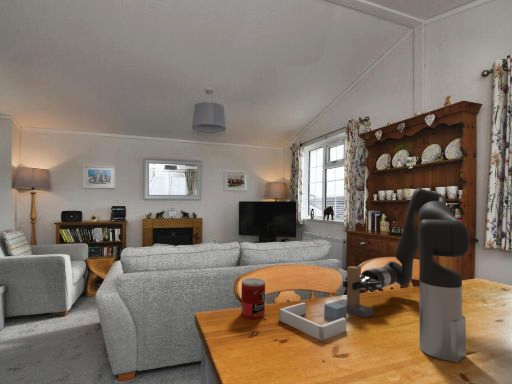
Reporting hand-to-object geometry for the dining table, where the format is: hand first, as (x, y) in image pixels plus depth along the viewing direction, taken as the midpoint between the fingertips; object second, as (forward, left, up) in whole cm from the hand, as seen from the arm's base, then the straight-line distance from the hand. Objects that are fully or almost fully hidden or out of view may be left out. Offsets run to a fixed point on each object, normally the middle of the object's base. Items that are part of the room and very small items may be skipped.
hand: (348, 285), depth 101 cm
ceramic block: (0, +7, -9) cm, 12 cm away
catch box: (0, +19, -9) cm, 21 cm away
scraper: (0, -3, -9) cm, 10 cm away
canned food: (+17, +28, -9) cm, 34 cm away
